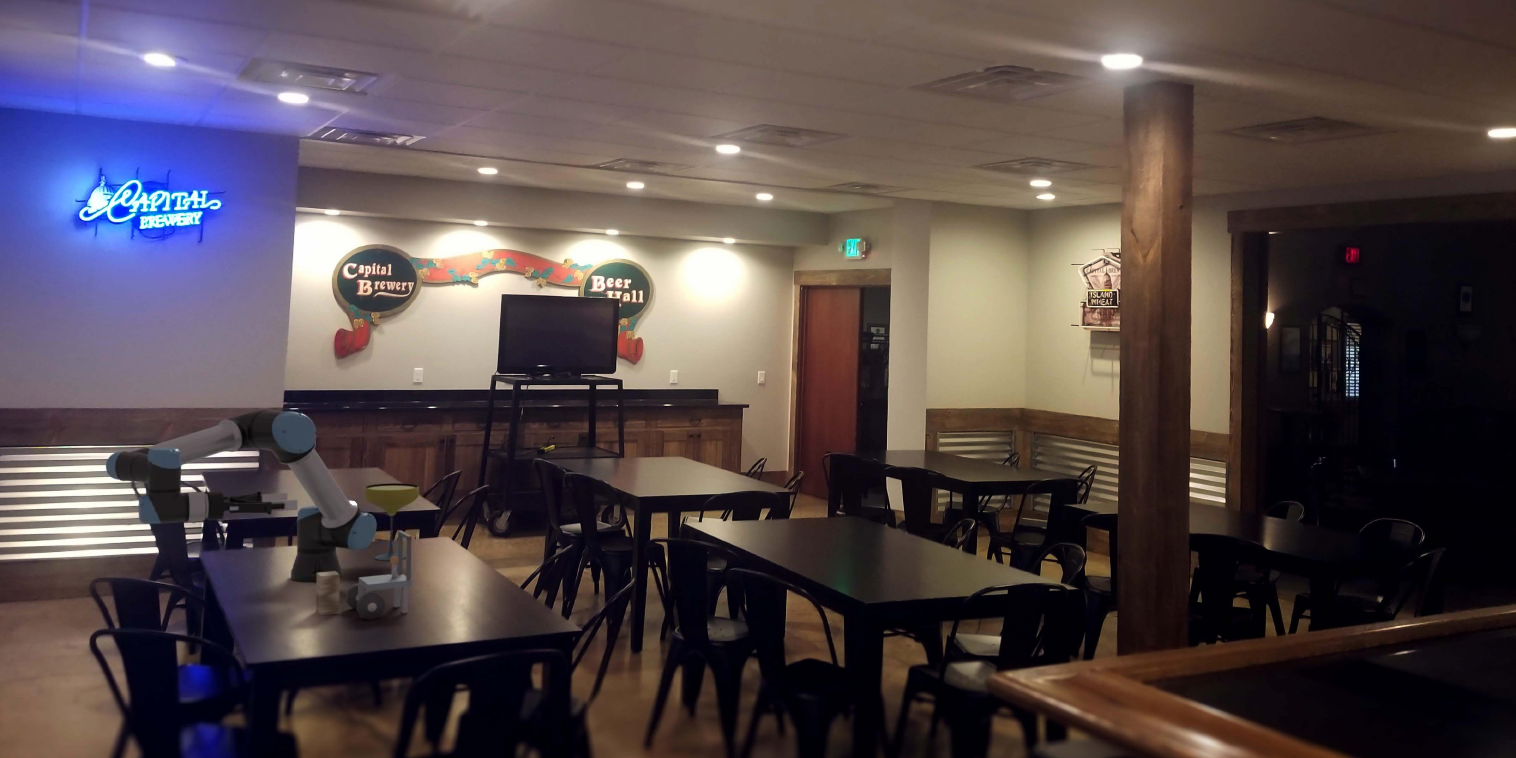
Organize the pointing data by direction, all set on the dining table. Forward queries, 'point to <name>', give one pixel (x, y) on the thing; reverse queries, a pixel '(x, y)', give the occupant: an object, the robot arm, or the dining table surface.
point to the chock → (327, 593)
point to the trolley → (383, 586)
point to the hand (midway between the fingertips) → (292, 501)
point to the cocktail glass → (391, 504)
